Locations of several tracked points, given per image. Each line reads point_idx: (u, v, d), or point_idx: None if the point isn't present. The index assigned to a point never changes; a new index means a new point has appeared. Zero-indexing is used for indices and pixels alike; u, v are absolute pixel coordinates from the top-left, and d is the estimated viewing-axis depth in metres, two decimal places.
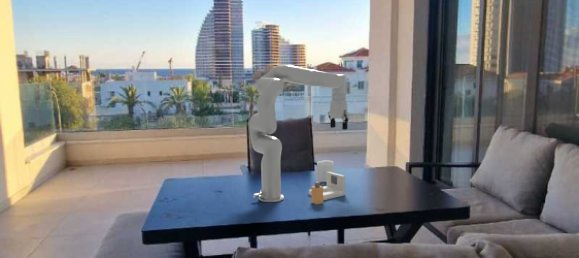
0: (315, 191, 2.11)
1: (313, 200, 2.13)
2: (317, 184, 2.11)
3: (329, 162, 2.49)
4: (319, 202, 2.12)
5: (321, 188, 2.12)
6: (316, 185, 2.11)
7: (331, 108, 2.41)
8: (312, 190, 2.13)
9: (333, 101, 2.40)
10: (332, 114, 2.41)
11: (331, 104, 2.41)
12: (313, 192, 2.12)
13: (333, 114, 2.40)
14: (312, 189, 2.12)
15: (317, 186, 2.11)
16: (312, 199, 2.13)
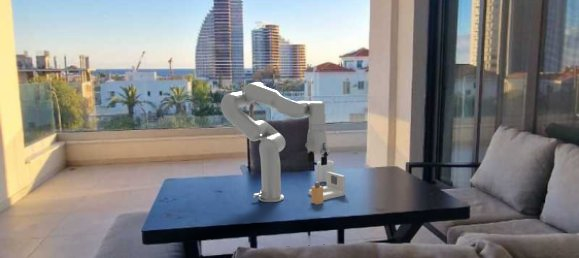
0: (315, 191, 2.11)
1: (313, 200, 2.13)
2: (317, 184, 2.11)
3: (329, 162, 2.49)
4: (319, 202, 2.12)
5: (321, 188, 2.12)
6: (316, 185, 2.11)
7: (308, 140, 2.10)
8: (312, 190, 2.13)
9: (310, 132, 2.08)
10: (309, 147, 2.10)
11: (308, 135, 2.10)
12: (313, 192, 2.12)
13: (311, 147, 2.09)
14: (312, 189, 2.12)
15: (317, 186, 2.11)
16: (312, 199, 2.13)
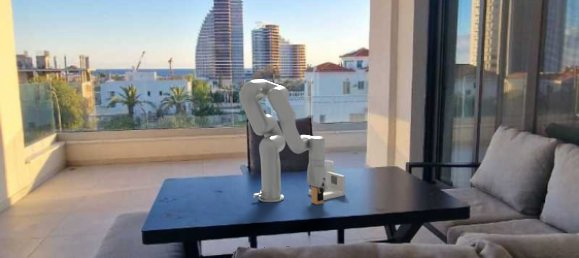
0: (315, 191, 2.11)
1: (313, 200, 2.13)
2: None
3: (329, 162, 2.49)
4: (319, 202, 2.12)
5: (321, 188, 2.12)
6: None
7: (308, 174, 2.12)
8: (312, 190, 2.13)
9: (310, 167, 2.11)
10: (310, 181, 2.12)
11: (308, 170, 2.12)
12: (313, 192, 2.12)
13: (311, 181, 2.12)
14: (312, 189, 2.12)
15: None
16: (312, 199, 2.13)
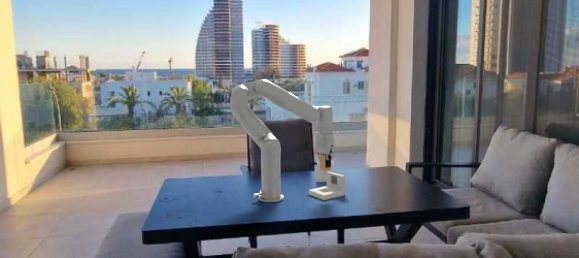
0: (323, 158, 2.21)
1: (321, 167, 2.23)
2: None
3: None
4: (327, 169, 2.22)
5: None
6: None
7: (317, 142, 2.22)
8: (320, 157, 2.23)
9: (319, 135, 2.21)
10: (318, 149, 2.22)
11: (317, 138, 2.22)
12: (321, 160, 2.22)
13: (319, 149, 2.21)
14: (321, 156, 2.22)
15: None
16: (320, 166, 2.23)
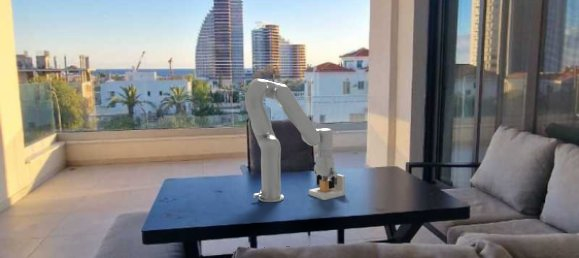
0: (323, 184, 2.23)
1: None
2: (325, 177, 2.23)
3: None
4: None
5: None
6: (324, 178, 2.23)
7: (317, 164, 2.24)
8: (320, 183, 2.24)
9: (319, 157, 2.22)
10: (318, 171, 2.24)
11: (317, 160, 2.24)
12: (321, 185, 2.24)
13: (319, 171, 2.23)
14: (321, 182, 2.24)
15: (325, 179, 2.23)
16: None
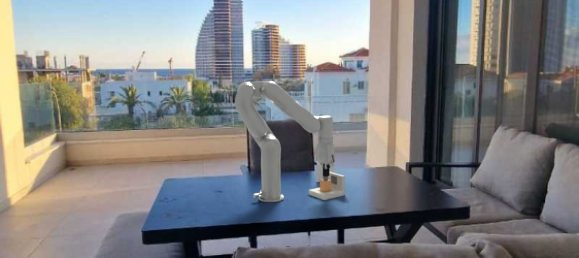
0: (324, 184, 2.23)
1: None
2: (326, 177, 2.23)
3: None
4: None
5: (329, 181, 2.24)
6: (325, 178, 2.23)
7: (317, 152, 2.23)
8: (321, 183, 2.25)
9: (319, 145, 2.21)
10: (318, 158, 2.23)
11: (317, 148, 2.23)
12: (321, 185, 2.24)
13: (319, 159, 2.22)
14: (321, 182, 2.24)
15: (326, 179, 2.23)
16: None
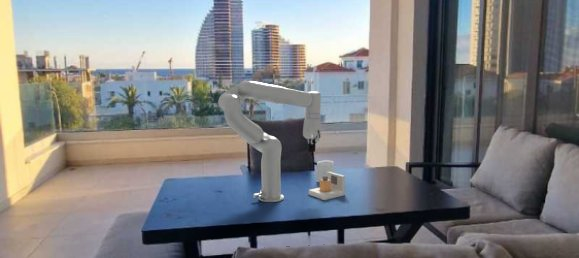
0: (323, 184, 2.23)
1: None
2: (325, 177, 2.23)
3: (329, 162, 2.49)
4: None
5: (329, 181, 2.24)
6: (324, 178, 2.23)
7: (304, 127, 2.26)
8: (320, 183, 2.24)
9: (306, 120, 2.24)
10: (305, 134, 2.26)
11: (304, 123, 2.26)
12: (321, 185, 2.24)
13: (306, 134, 2.25)
14: (321, 182, 2.24)
15: (325, 179, 2.23)
16: None
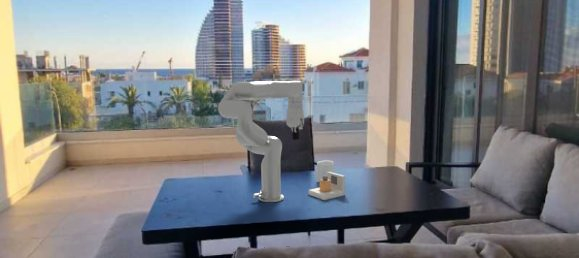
0: (323, 184, 2.23)
1: None
2: (325, 177, 2.23)
3: (329, 162, 2.49)
4: None
5: (329, 181, 2.24)
6: (324, 178, 2.23)
7: (288, 116, 2.32)
8: (320, 183, 2.24)
9: (289, 109, 2.31)
10: (288, 122, 2.32)
11: (287, 112, 2.32)
12: (321, 185, 2.24)
13: (289, 122, 2.31)
14: (321, 182, 2.24)
15: (325, 179, 2.23)
16: None
